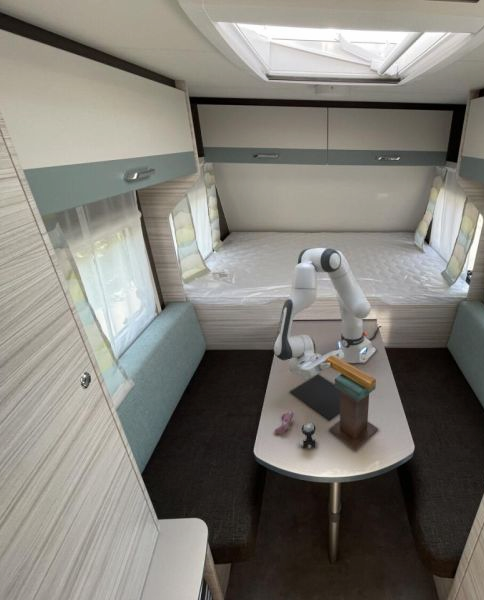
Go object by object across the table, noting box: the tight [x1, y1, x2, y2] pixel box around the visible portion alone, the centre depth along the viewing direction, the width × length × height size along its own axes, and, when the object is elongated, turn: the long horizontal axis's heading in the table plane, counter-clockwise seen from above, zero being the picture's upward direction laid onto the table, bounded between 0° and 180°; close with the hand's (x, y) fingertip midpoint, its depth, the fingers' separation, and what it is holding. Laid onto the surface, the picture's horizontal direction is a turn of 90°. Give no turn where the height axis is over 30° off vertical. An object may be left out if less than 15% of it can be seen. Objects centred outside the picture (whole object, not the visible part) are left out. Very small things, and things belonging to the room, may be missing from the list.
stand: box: [329, 373, 378, 452], centre depth 128 cm, size 14×14×26 cm
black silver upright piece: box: [298, 422, 317, 449], centre depth 125 cm, size 7×5×10 cm
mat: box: [290, 374, 340, 421], centre depth 153 cm, size 18×26×1 cm
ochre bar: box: [326, 355, 377, 390], centre depth 124 cm, size 4×22×3 cm, turn 46°
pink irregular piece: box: [274, 410, 295, 435], centre depth 134 cm, size 10×5×7 cm, turn 168°
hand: (334, 362), depth 129 cm, fingers closed on ochre bar, 3 cm apart
